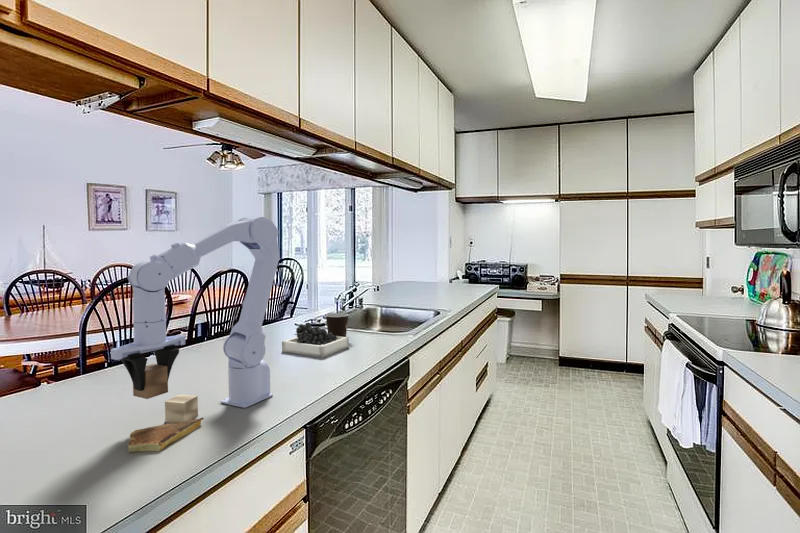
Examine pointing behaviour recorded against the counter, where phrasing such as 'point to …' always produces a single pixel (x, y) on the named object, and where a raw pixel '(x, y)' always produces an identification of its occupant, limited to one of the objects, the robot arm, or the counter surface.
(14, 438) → the counter surface
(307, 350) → the fruit dish
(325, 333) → the fruit
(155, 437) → the shard
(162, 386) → the walnut block
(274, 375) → the counter surface
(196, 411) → the maple block
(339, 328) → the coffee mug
